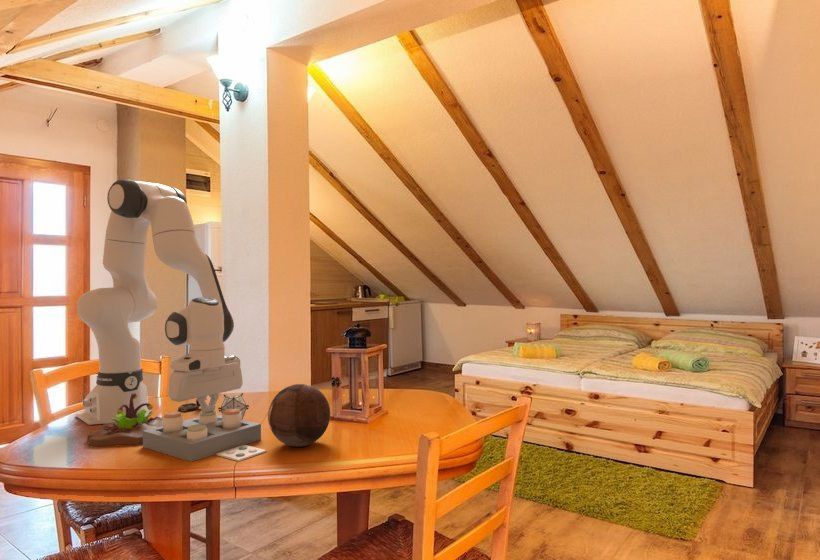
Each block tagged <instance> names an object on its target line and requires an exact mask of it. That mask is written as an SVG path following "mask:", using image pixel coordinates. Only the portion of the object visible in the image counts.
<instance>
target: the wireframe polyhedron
mask: <svg viewBox="0 0 820 560" xmlns="http://www.w3.org/2000/svg"><path fill="white" fill-rule="evenodd" d="M243 396H244V393H243V392H242V393H241V394H240V395H227V394H223V397H224V399H223V402H222V403H221V406H219V407H218V408H217V409H218V412H219V413H221V414H222V413H224V412H223V411H224V410H227V409H240V411H241V420H244V416H245V413H246V410H249V407H250V405H249V404H246V402H245V399H244V398H243Z"/></svg>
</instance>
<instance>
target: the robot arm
mask: <svg viewBox="0 0 820 560" xmlns="http://www.w3.org/2000/svg"><path fill="white" fill-rule="evenodd" d="M106 199H107V203H108V207H109V209H110V215H109V218H108V221H107V226H106V229H105V230H106V231H105V237H104V238H105V239H104V245H103V254H102V265H103V268H104V269H105V271H108V273H110V275H111V279H112V283H113V285H112V286H113V287H99V288H95V289H92V290H88V291H86V292H84V293H83V294H81V295H80V296H79V298H78V300H77V302H76V312H77V315H78V318H79V319H80V320H81V321H82V322H83V323H84V324H85V325H87V327H89V329H90V330H91V331H92V333H93V336H94V338H95V341H96V343H97V348H98V365H99V369H98V370H99V371H98V372H96V382H95V383H96V385H95V386H94V387H93V388H92V390H91V391H90V392H89V393H88V394H86V396H85V398H84V399H83V400H82V407H83V408H84V410H81V411H78V412H76V414H75V417H76V418H78V419H79V420H81V421H82V422H84V423H85V424H87V425H88V426H91V425H101V424H102V425H104V424H107V423H111V422H115V421H114V420H112V419H111V418H115V419H117V420H119V421H120V419H119V418H118V417H116V415H118V413H117V410H118V409H119V408H120V407H121V406H122V405H124V404H125V405H127V406H128V407H129V405H130V404H129V403H130V397H131V394H132V393H136V394H137V398H136V399H133V404H134V405H133V406H134V409H136V408H137V407H138V406H139V405H141V404H144V403H149V398H148V396H149V395H148V389H147V385H146V384H144V383H143V381H144V372H143V371H144V370H143V368H142V356H141V355H142V350H141V349H142V348H141V347H142V346H141V343H140V341H139V340H138V339H137V338H135V337H133V335H132V334H131V331H130V328H129V323H130V324H132V323H138V322H141V321H143V320H146V319H148V318H150V317H152V316H153V315H154V314H155V312H156V311H157V309H158V298H157V296H156V294H155V293H154V292H153V290H151V288H150V286H149V284H148V279H147V276H146V266H145V265H146V254H147V253H146V251H147V242H148V230H149V227H150V226H151V236H152V242H153V244H152V245H153V248H154V252H155V255H156V256H157V258H158V260H160V261H161V262H162V263H163V264H165V265H166V266H167V267H170V268H172V269H175V270H177V271H180V272H182V273H185V274H187V275H189V276H190V277H192V278H193V279H194V280H195V282H197V284H198V287H199V290H200V292H201V296H202V297H196V298H193V299H191V300H190V301H189V303H188V305H187V306H185V307H183V308H181V309H179V310H177V311H173V312H171V314H169V316H168V317H167V318H166V321H165V323H164V324H165V325H164V332H165V333H164V334H165V336H166V339H167V340H168V341H169V342H170V343H171V344H173V345H175V346H182V347H183V346H189V348H188V353H186V354H185V355H183V356H181V357H179V358H177V359H175V360H173V361H172V362H171V364H170V368H171V370H172V372H171V374H170V375H169V379H168V382H169V383H168V396H169V399H170V400H171V401H173V402H178V403H179V402H185V401H189V400H193V399H194V400H195V399H197V401H198V402H199V404H200V405H201V406H200V408H201V409H200V410H201V411H200V412H202V413H208V412H212V411H216V404H217V403H218V400H219V396H220V395H219V394H221V393H227V392H231V391H236V390H239V389H241V388H242V387H243V383H244V382H243V373H242V368H241V360H240V358H239V357H238V356H236V355H231V356H225V354H226V353H225V344H224V343H225V342H226V341H227V340H228V339H229V337H230V336H231V335H232V333H233V331H234V326H235V323H234V318H233V317H232V316H233V315H232V314H231V312H230V310H229V308H228V307H227V304H226V301H225V297H224V294H223V292H222V291H223V290H222V289H221V288H222V287H221V285H220V282H219V279H218V276H217V273H216V270H215V266H214V265H213V261H212V260H211V258H210V256H209V255H207V254H206V253H205V252H204V251H203V249H202V248H201V246H200V245H199V242H198V240H197V236H196V230H195V226H194V221H193V218H192V214H191V212H190V209H189V207H188V206H189V205H188V203H187V201H188V200H187V197H186V195H185V194H184V193H183V192H182V191H181V190H180V189H178V188H176V187H173V186H168V185H165V184H160V183H157V182H152V181H151V182H147V181H142V180H141V181H139V180H137V181H136V180H133V179H119V180H116V181H114V182H113V183H112V184H111V186H110V187H109V189H108V191H107V198H106ZM207 397H209V398H210V400H209V402H208V404H207V403H206V401H207ZM141 410H145V411H147V412H146V414H145V417H146V416H147V415H149V414H151V413H152V412H153V409H152V410H149V409H148V408H147V406H146V405H145V406H142V407H141V408H140V409H139V410H138V411H137V413H138V412H139V411H141ZM122 413H125V414H126V409H125V407H123V410H122ZM137 413H136V414H137ZM118 416H119V415H118ZM145 417H144V418H145Z"/></svg>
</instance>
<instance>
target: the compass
mask: <svg viewBox="0 0 820 560" xmlns="http://www.w3.org/2000/svg"><path fill="white" fill-rule="evenodd" d="M195 399H196V400H195V403H192V402H191V403H190V402H189V403H184V404H181V405H179V406H178V408H177V409H178V412H193V410H194V411H197V410H199V409H200V408H201V405H200V404H199V402H198V401H197V398H195Z"/></svg>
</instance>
